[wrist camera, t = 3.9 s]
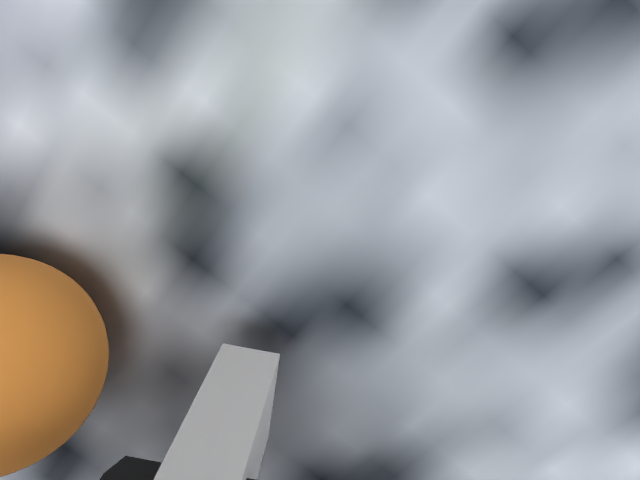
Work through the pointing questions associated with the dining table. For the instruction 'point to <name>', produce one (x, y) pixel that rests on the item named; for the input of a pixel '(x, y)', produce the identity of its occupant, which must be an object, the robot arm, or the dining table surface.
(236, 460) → the robot arm
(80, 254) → the dining table surface
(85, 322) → the ball
